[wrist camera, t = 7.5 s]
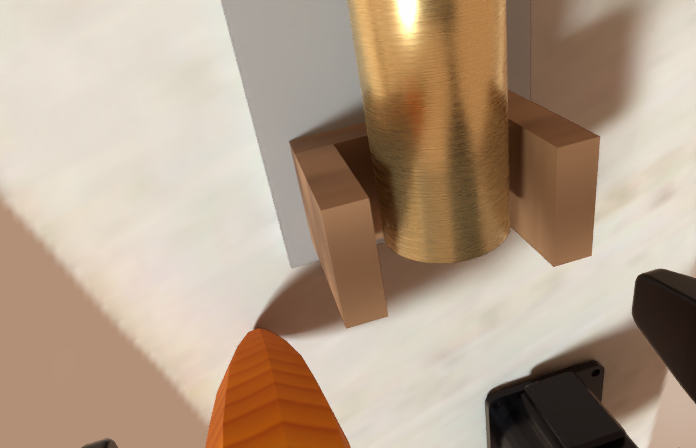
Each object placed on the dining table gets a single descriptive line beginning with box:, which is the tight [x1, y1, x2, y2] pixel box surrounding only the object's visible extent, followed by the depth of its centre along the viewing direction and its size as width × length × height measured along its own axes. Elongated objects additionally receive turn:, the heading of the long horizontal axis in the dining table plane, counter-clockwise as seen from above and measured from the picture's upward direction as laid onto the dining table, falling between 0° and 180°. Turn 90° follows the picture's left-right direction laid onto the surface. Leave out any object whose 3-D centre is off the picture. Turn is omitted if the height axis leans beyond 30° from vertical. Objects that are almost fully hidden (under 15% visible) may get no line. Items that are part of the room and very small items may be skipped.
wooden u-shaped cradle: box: [289, 90, 600, 329], centre depth 18 cm, size 4×8×5 cm, turn 100°
